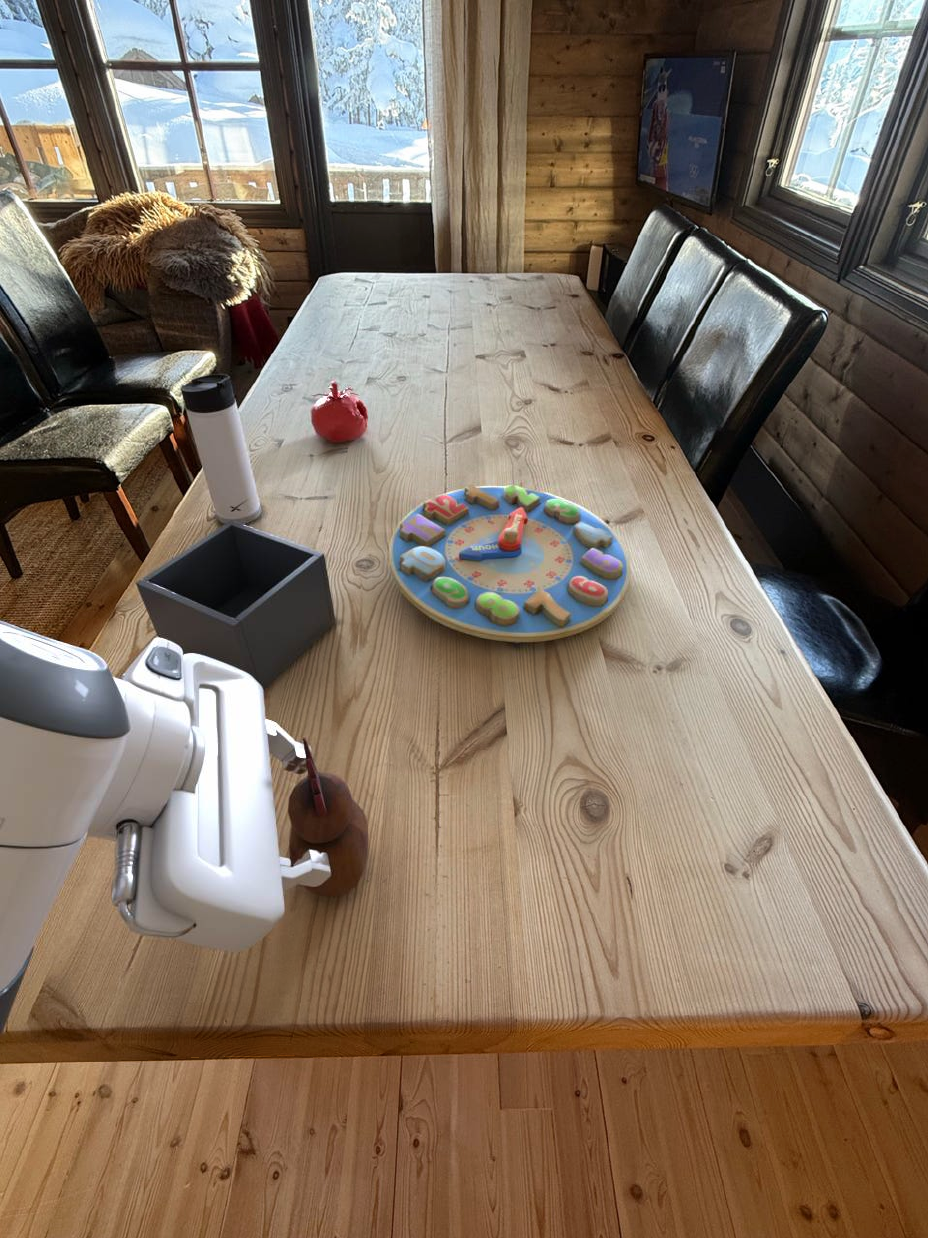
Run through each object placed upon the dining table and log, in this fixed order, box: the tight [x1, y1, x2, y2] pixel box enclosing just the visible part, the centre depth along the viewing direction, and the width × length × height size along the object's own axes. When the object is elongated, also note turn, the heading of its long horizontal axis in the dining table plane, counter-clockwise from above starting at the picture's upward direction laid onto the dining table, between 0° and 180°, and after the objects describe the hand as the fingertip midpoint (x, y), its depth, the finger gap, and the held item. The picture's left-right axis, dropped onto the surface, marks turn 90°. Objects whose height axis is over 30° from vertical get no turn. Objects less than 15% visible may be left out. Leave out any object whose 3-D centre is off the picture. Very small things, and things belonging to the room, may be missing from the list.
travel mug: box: [180, 373, 262, 525], centre depth 89 cm, size 6×7×20 cm
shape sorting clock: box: [388, 484, 632, 645], centre depth 83 cm, size 31×30×6 cm
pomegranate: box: [310, 381, 369, 444], centre depth 112 cm, size 10×10×9 cm
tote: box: [135, 520, 337, 691], centre depth 72 cm, size 14×14×10 cm
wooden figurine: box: [287, 737, 369, 898], centre depth 49 cm, size 7×6×15 cm
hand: (315, 812), depth 48 cm, fingers open, 8 cm apart
